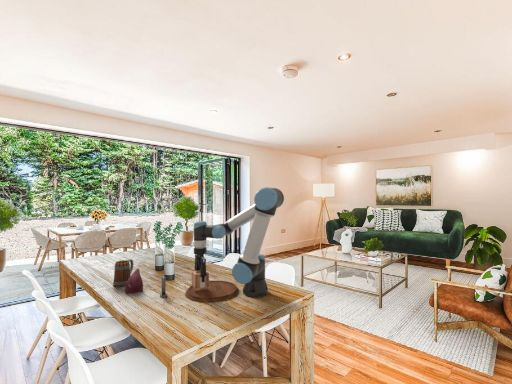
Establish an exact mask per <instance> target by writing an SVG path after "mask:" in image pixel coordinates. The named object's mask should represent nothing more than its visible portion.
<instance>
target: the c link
mask: <svg viewBox="0 0 512 384" xmlns="http://www.w3.org/2000/svg"><path fill="white" fill-rule="evenodd" d="M200 276H201V273H200V270H198V271H195V270H193V271H191V286H192V285H193V286H194V287H195V289H197V288H200ZM209 281H210V272H209V271H206V276H205V287H208V286H209Z"/></svg>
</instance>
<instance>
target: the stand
mask: <svg viewBox="0 0 512 384" xmlns="http://www.w3.org/2000/svg"><path fill="white" fill-rule="evenodd" d="M166 278H167V277H166V276H161V294H160V295H159V298H166V297H168V293H166V289H167V288H166V287H167V286H166V283H167V282H166Z"/></svg>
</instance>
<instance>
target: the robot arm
mask: <svg viewBox="0 0 512 384" xmlns="http://www.w3.org/2000/svg"><path fill="white" fill-rule="evenodd" d="M284 196H285V195H284V193H283V192H282V191H281V189H279V188H276V187H268V186H267V187H262V188H260V189H259V190H257V192H256V193H255V195H254V198H253V199H254V200H253V201H254V202H253V204H252V205H251V206H249V207H247V208H246V209H244V210H243V211H241V212H239V213H238V214H236V215H234V216H233V217H231V218H229V219H228V220H226V221H225V222H223V223H219V224H210V225H209V224H207V221H205V220H197V221H195V222H193V242H192V244H193V247H194V248H193V254H194V268H193V271H198V270H200V273H201V276H200V288H203V287H205V276H206V272H207V258H205V255H206V254H207V250H208V249H207V245H208V240H207V239H216V240H218V239H219V240H220V239H224V237H225V236H229V235H231V234H233V232H234V231H236V230H238V229H239V228H241V227H242V226H244V225H246V224H248V223H250V222H251V221H252V223H251V227H250V229H249V234H248V236H247V239H246V243H245V246H244V249H243V252H242V253H241V254H239V256H238V259H237V262H236V263H235V264H234V265H233V266H232V269H231V275H232V277H233V279H234V280H235V282H237V283H238V284H240V285H241V284H242V285H243V288H242V294H243V295H244V296H247V297H249V298H251V297H252V298H260V297H259V296H261V297H264V296H263V295H265V296H266V294H267V293H268V294H269V288H268V285H267V282H266V256H265V255H264V254H262V253H261V249H262V247H263V244H264V241H265V237H266V234H267V231H268V227H269V225H270V221H271V218H272V217H274V216H275V215H276V212H277V209H278V208H280V207H281V206H282V205H283V203H284V201H285V197H284ZM268 294H267V295H268Z"/></svg>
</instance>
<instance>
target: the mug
mask: <svg viewBox="0 0 512 384" xmlns="http://www.w3.org/2000/svg"><path fill="white" fill-rule="evenodd" d="M133 270H134V260H133V259H131V258H129V259H125V260H124V259H123V260H117V261H115V263H114V271H113V272H114V275H113V281H112V284H113V286H114V287H116V288H120V287H121V288H123V287H126V284H127V281H128V279H129V278H130V276H131V275H132V272H133Z"/></svg>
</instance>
